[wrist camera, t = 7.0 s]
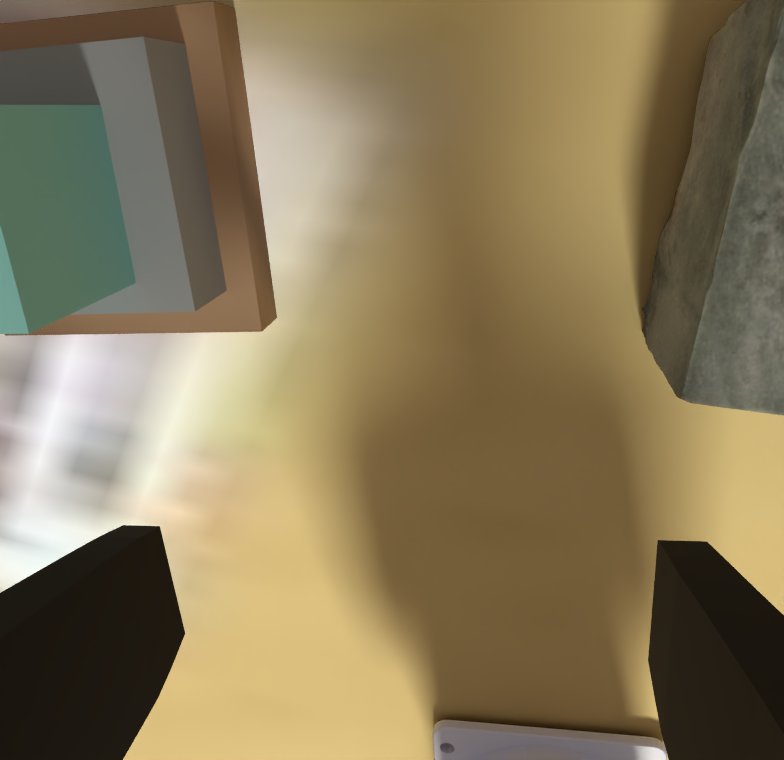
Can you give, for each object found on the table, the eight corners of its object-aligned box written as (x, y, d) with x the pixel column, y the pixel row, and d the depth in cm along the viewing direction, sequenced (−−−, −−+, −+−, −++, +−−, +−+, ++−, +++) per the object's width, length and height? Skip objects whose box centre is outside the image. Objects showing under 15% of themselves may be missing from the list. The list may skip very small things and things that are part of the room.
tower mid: (226, 290, 18) (195, 311, 16) (29, 296, 19) (-21, 317, 17) (185, 44, 16) (143, 36, 14) (-36, 65, 17) (-101, 62, 15)
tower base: (284, 310, 20) (262, 331, 18) (47, 315, 22) (5, 335, 20) (244, 11, 17) (213, 1, 15) (-28, 39, 19) (-86, 33, 17)
